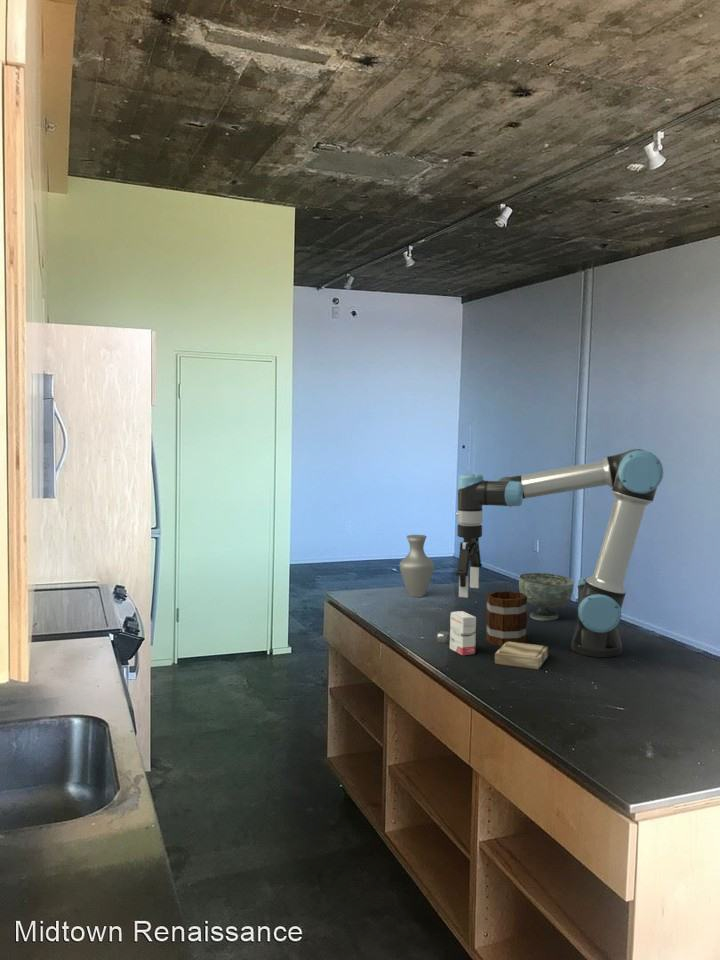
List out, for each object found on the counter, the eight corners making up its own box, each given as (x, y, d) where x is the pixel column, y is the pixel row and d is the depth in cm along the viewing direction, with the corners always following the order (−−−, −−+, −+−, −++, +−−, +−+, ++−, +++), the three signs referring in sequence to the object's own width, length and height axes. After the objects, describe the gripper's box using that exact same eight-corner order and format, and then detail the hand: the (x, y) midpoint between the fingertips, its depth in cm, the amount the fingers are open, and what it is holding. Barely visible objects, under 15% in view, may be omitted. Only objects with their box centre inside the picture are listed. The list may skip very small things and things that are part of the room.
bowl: (576, 625, 263) (576, 583, 261) (520, 623, 266) (520, 582, 264) (569, 611, 282) (570, 572, 281) (517, 609, 285) (517, 571, 284)
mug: (524, 648, 237) (524, 601, 236) (482, 644, 242) (482, 598, 240) (531, 631, 256) (531, 588, 255) (491, 628, 260) (491, 586, 259)
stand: (506, 651, 234) (506, 640, 234) (547, 656, 229) (548, 645, 228) (494, 663, 223) (494, 651, 222) (538, 669, 217) (538, 657, 217)
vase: (417, 589, 320) (416, 532, 318) (441, 595, 309) (441, 536, 307) (392, 595, 311) (392, 535, 309) (416, 601, 300) (416, 539, 298)
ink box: (476, 654, 232) (476, 616, 231) (462, 656, 230) (462, 618, 229) (462, 646, 240) (462, 610, 239) (449, 648, 238) (448, 611, 237)
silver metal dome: (439, 639, 248) (439, 630, 247) (451, 641, 246) (451, 632, 246) (435, 642, 244) (435, 633, 244) (446, 644, 242) (446, 635, 242)
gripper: (467, 518, 241) (467, 582, 243) (446, 528, 218) (446, 600, 220) (490, 519, 239) (489, 584, 240) (471, 530, 216) (471, 602, 217)
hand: (469, 592), depth 230 cm, fingers open, 13 cm apart
